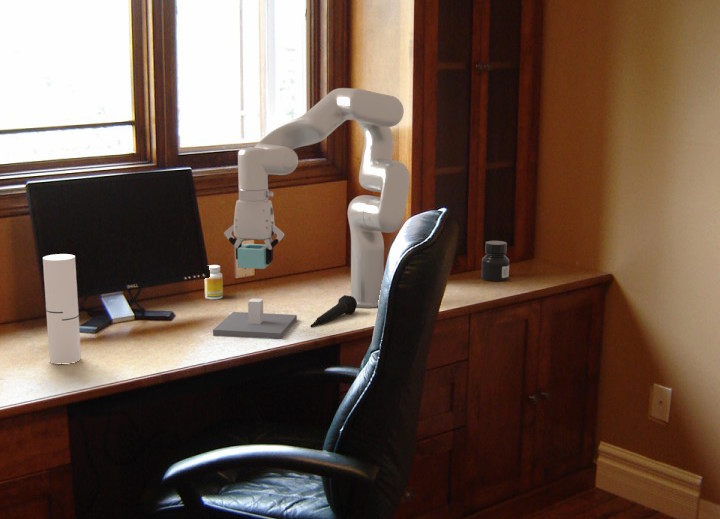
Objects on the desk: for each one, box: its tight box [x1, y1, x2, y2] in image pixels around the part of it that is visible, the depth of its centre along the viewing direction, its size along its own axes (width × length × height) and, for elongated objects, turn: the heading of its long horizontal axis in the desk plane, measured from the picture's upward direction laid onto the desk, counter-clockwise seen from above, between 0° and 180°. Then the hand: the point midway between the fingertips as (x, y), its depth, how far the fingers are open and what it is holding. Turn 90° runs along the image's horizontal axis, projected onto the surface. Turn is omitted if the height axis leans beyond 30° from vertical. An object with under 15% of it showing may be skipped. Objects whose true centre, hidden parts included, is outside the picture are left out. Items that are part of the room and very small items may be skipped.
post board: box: [212, 298, 298, 340], centre depth 256 cm, size 18×18×8 cm
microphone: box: [310, 294, 358, 328], centre depth 265 cm, size 6×6×20 cm
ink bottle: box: [480, 240, 510, 282], centre depth 312 cm, size 10×9×12 cm
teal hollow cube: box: [237, 243, 272, 270], centre depth 253 cm, size 7×7×5 cm
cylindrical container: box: [42, 253, 82, 364], centre depth 226 cm, size 7×7×25 cm
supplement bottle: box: [203, 264, 224, 300], centre depth 287 cm, size 5×5×10 cm
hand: (254, 262), depth 253 cm, fingers closed on teal hollow cube, 7 cm apart
